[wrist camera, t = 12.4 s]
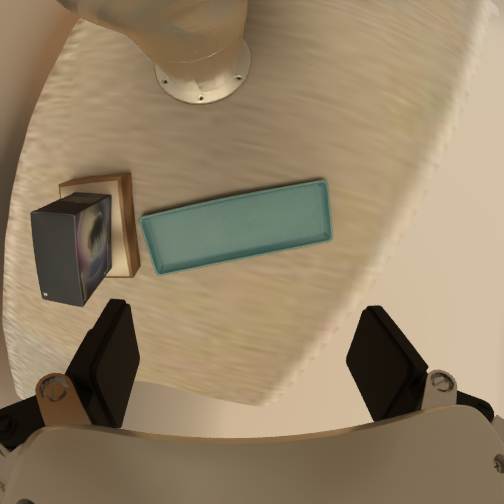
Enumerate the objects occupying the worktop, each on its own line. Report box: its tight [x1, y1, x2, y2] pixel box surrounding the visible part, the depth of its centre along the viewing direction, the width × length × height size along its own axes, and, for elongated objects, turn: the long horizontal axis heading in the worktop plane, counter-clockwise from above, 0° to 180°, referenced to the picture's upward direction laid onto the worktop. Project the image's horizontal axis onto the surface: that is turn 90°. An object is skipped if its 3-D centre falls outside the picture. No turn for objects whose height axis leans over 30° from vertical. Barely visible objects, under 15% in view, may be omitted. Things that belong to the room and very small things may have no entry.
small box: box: [31, 192, 112, 307], centre depth 28 cm, size 11×6×10 cm, turn 171°
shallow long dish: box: [139, 180, 333, 276], centre depth 39 cm, size 26×9×2 cm, turn 100°
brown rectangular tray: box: [59, 173, 141, 278], centre depth 35 cm, size 14×10×4 cm
